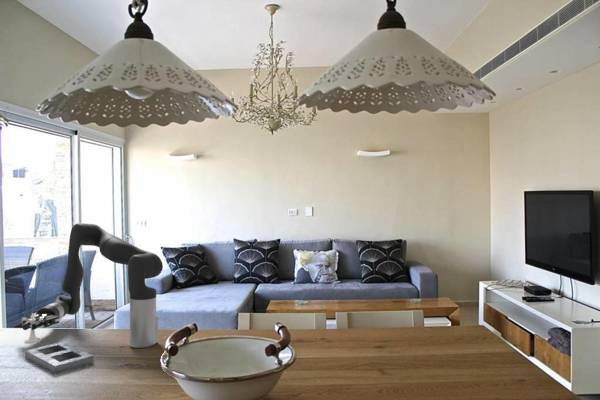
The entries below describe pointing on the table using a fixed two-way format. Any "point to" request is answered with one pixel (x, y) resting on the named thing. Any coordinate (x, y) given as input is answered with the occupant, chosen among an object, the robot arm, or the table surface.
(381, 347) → the table surface
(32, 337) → the chess piece
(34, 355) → the grey two-window frame
